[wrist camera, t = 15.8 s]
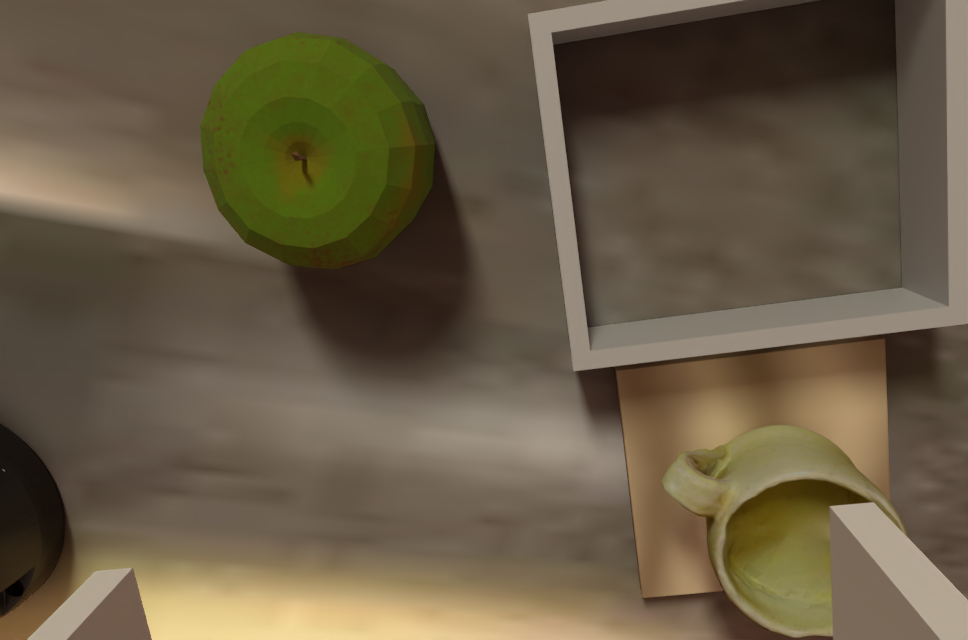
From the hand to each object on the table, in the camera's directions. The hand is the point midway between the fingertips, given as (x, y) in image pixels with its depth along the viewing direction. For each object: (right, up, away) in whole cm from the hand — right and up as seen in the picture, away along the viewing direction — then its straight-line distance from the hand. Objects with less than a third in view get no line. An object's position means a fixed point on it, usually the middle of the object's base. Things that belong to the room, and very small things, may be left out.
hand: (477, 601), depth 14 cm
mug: (+16, -4, +31) cm, 35 cm away
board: (+16, -4, +31) cm, 36 cm away
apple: (-7, +15, +29) cm, 33 cm away
